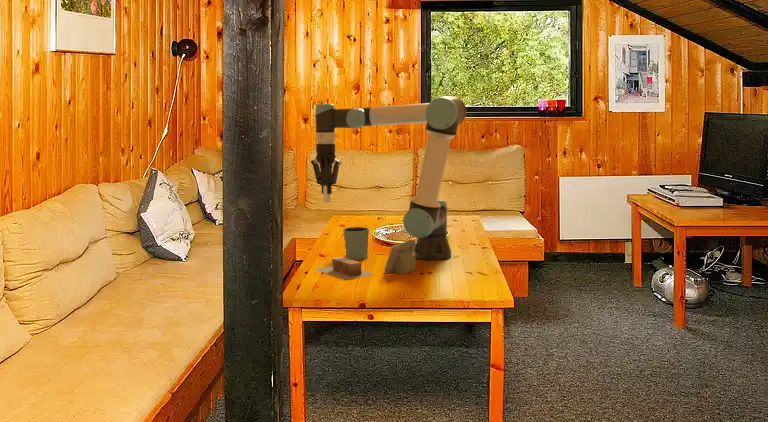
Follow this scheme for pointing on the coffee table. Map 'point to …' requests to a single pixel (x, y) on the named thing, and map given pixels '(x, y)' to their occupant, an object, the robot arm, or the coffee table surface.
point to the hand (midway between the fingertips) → (326, 202)
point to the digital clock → (401, 258)
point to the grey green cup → (356, 242)
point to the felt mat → (340, 275)
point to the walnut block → (346, 266)
